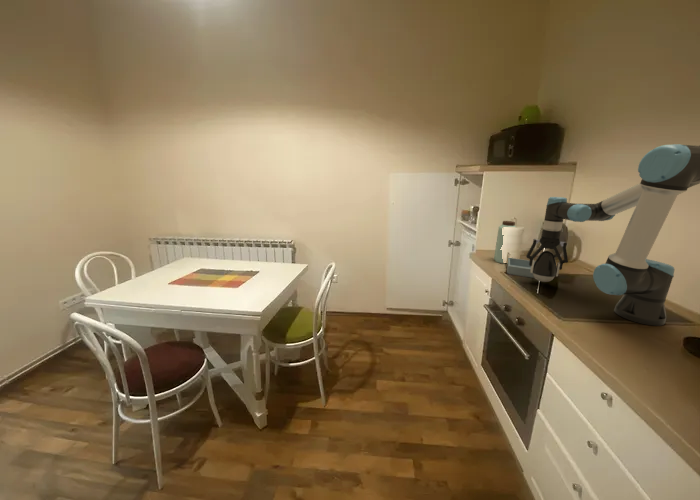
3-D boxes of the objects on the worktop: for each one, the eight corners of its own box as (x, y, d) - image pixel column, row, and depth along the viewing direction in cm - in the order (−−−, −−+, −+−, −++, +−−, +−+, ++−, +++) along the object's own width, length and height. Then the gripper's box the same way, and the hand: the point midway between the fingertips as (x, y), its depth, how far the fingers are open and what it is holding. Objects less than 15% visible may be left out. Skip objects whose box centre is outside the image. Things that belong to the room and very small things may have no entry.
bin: (546, 279, 163) (548, 271, 162) (507, 273, 171) (508, 265, 170) (543, 269, 179) (544, 262, 178) (507, 264, 187) (508, 257, 186)
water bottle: (493, 262, 191) (499, 222, 184) (494, 258, 199) (500, 219, 193) (511, 265, 186) (518, 223, 180) (511, 260, 195) (518, 221, 188)
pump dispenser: (554, 285, 149) (559, 254, 145) (529, 280, 155) (534, 250, 151) (556, 279, 156) (561, 250, 153) (532, 275, 163) (537, 247, 159)
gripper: (578, 230, 148) (569, 275, 153) (524, 226, 157) (517, 268, 163) (582, 233, 141) (572, 279, 147) (525, 228, 151) (518, 272, 156)
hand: (543, 273), depth 155 cm, fingers closed on pump dispenser, 10 cm apart
